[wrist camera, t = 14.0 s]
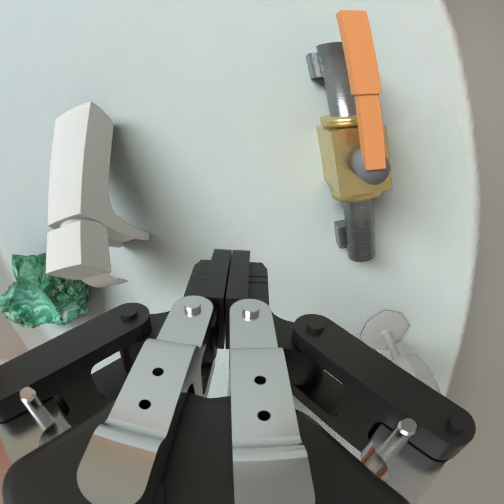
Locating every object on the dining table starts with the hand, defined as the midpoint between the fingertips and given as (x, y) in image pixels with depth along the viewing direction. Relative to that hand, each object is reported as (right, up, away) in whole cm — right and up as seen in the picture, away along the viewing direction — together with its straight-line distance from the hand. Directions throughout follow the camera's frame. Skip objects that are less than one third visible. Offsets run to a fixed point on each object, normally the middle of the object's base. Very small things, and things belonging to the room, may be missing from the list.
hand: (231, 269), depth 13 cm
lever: (+11, +16, +13) cm, 23 cm away
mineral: (-33, -3, +33) cm, 47 cm away
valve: (+12, +14, +23) cm, 30 cm away
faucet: (-18, +11, +26) cm, 33 cm away
